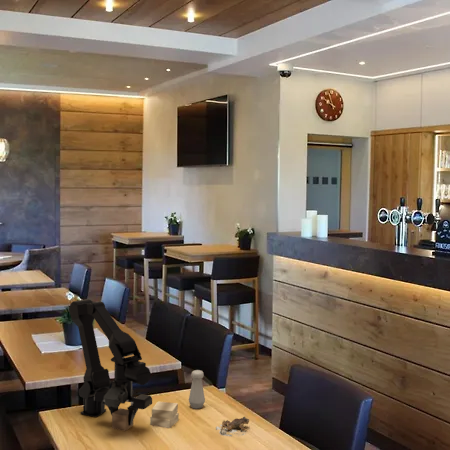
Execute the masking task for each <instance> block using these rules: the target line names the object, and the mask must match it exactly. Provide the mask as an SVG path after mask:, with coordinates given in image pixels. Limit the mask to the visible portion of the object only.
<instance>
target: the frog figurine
mask: <svg viewBox="0 0 450 450" xmlns="http://www.w3.org/2000/svg"><path fill="white" fill-rule="evenodd" d="M249 422H250V419H249V418H247V417H246V416H243V417H241V418H234V419H233V420H232V421H230V420H228V419H227V420H222V423H221V424H219V426H216V427H215V430H216V431H218V430H219V431H218V433H219V434H220V436H223V437H224V436H225V437H232V436H233V435H234V434H235V433H236V432H238V430H239V431H240V432H242V434H240V435H239V437H241V436H244V435H245V433H247V432H248V430H247V429H246V428H245V427H244V425H248V424H249ZM227 433H230V434H227ZM232 434H233V435H232Z"/></svg>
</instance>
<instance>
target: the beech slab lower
mask: <svg viewBox="0 0 450 450" xmlns="http://www.w3.org/2000/svg"><path fill="white" fill-rule="evenodd" d="M179 416H180V415H179V412H177V414H176V415H175V417H174V418H173V420H166V419H156V418H152V415H151V416H150V422H149V425H150V426H153V427H154V426H155V427H161V428H165V429H170V428H172V426H175V424H176V423H177V422H179Z"/></svg>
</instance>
